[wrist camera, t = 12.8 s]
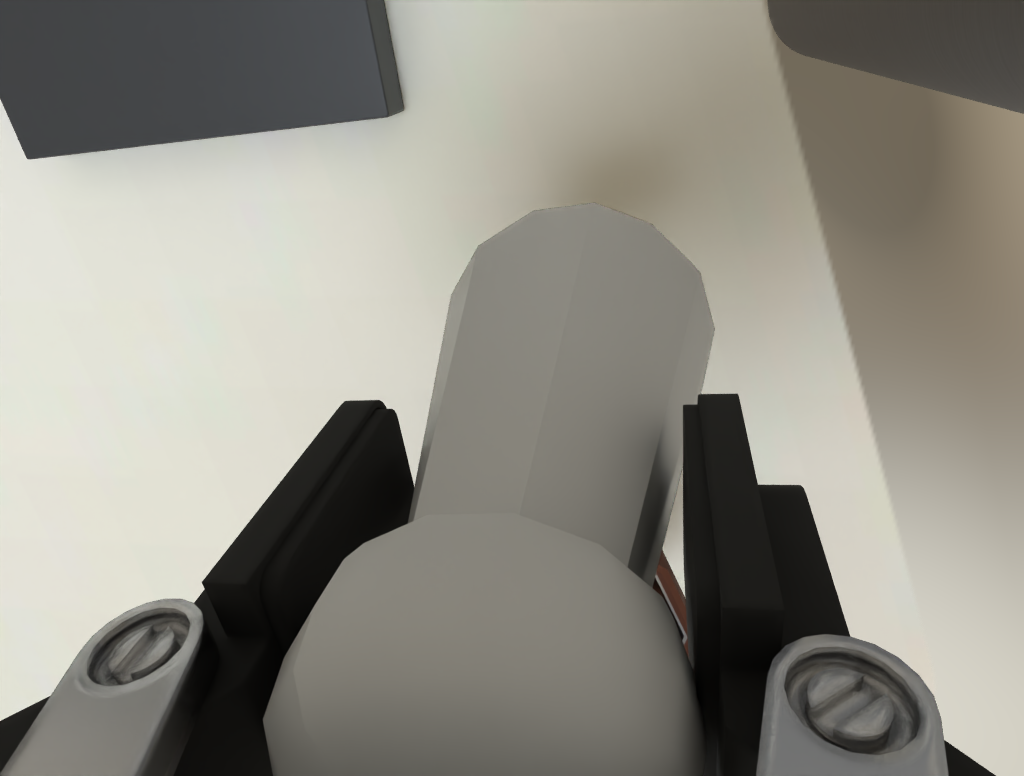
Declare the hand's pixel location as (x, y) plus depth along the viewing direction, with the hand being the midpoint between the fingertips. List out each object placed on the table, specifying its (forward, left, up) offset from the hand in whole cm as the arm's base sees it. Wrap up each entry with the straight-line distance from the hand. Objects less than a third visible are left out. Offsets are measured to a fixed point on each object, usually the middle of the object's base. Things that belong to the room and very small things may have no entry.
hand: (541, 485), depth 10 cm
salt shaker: (0, 0, -8) cm, 8 cm away
